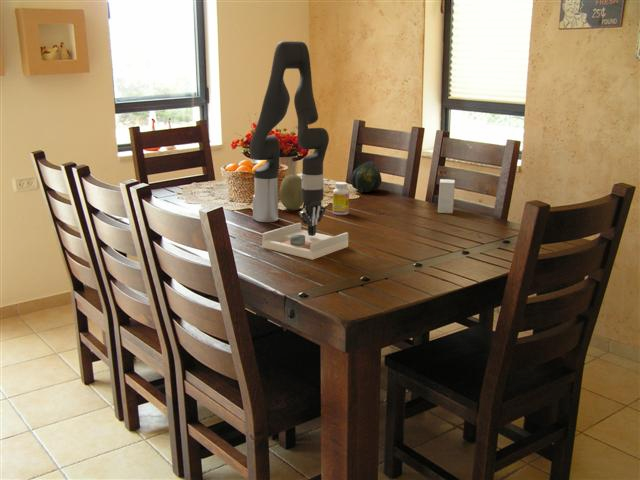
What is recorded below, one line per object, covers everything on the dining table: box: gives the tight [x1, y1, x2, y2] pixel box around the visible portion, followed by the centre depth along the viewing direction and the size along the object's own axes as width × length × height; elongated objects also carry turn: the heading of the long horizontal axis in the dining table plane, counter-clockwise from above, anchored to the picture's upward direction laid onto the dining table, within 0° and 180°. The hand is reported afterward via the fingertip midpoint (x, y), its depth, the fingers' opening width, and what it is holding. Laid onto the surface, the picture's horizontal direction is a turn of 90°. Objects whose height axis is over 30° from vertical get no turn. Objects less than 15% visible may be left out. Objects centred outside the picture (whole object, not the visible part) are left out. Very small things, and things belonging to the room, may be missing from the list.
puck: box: [290, 235, 305, 246], centre depth 242 cm, size 5×5×2 cm
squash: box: [350, 160, 383, 193], centre depth 339 cm, size 14×15×15 cm
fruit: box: [278, 174, 304, 210], centre depth 300 cm, size 11×11×15 cm
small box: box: [437, 178, 456, 214], centre depth 301 cm, size 8×6×13 cm
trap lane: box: [261, 222, 349, 260], centre depth 246 cm, size 22×20×5 cm
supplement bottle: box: [332, 181, 350, 216], centre depth 294 cm, size 7×7×13 cm
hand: (311, 235), depth 249 cm, fingers closed
